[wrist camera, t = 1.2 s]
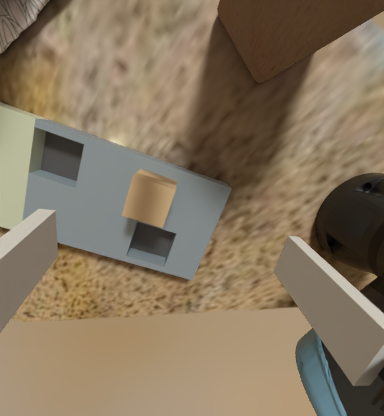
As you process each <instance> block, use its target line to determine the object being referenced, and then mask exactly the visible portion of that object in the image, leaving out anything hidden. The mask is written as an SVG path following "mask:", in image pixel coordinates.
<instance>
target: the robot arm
mask: <svg viewBox="0 0 384 416" xmlns="http://www.w3.org/2000/svg"><path fill="white" fill-rule="evenodd" d="M316 235H317V239H318V241H319V243H320V245H321V246H322V248H323V249H324V250H325V251H326V252H328V253H329V254H330V255H331V256H332V257H334V258H335V259H336V260H338V261H340V262H342V263H344V264H347V265H350V266H353V267H355V268H358V269H361V270H364V271H366V272H369V273H372V274H375V275H376V276H377V278H376V279H375V280H374V281H372V282H371V283H370V284H368V285H367V286H365V287H364V288H363V289H361V290H360V291H358V290H357V289H356V288H355V287H354V286H353V285H351V284H350V283H349V282H348V281H347V280H346V279H345V278H344V277H343V276H342V275H340V274H339V273H338V272H337V271H336V270H335V269H334V268H333V267H332V266H331V265H329V264H328V263H327V262H326V261H325V260H324V259H323V258H322V257H321V256H320V255H318V254H317V253H316V252H315V251H314V250H313V249H312V248H311V247H310V246H308V245H307V244H306V243H305V242H304V241H303V240H302V239H301V238H300V237H294V236H288V237H287V240H286V242H285V245H284V248H283V250H282V253H281V255H280V258H279V260H278V263H277V265H276V268H275V270H274V273H275V274H276V276H277V277H278V279H279V280H280V282H281V283H282V284H283V286H284V287H285V289H286V290H287V292H288V293H289V294H290V296H291V297H292V299H293V300H294V302H295V303H296V305H297V306H298V307H299V309H300V310H301V312H302V313H303V314H304V316H305V317H306V319H307V320H308V322H309V323H310V324H311V326H312V327H313V328H312V329H311V330H310V331H309V332H308V333H307V334H305V335H304V336H303V337H302V338H301V339H300V340H299V342H298V343H297V346H296V363H297V367H298V371H299V374H300V378H301V381H302V383H303V386H304V388H305V391H306V393H307V395H308V398H309V400H310V402H311V404H312V406H313V408H314V410H315V412H316V414H317V416H384V174H382V173H367V174H362V175H359V176H356V177H353V178H351V179H349V180H347V181H346V182H344V183H342V184H341V185H340V186H338V187H337V188H336V189H335V190H334V191H333V192H332V193H331V194H330V195H329V196H328V197H327V198H326V200H325V201H324V203H323V204H322V206H321V208H320V210H319V213H318V216H317V220H316ZM57 256H58V245H57V226H56V210H47V209H38V210H37V211H35V212H34V213H33V214H31V215H30V216H29V217H27V218H26V219H25V220H23V221H22V222H21V223H19V224H18V225H17V226H15V227H14V228H13V229H11V230H10V231H9V232H7V233H6V234H5V235H3V236H2V237H1V238H0V332H1V331H2V330H3V328H4V327H5V326H6V324H7V323H8V322H9V320H10V319H11V318H12V316H13V315H14V314H15V312H16V311H17V310H18V308H19V307H20V306H21V304H22V303H23V302H24V300H25V299H26V298H27V296H28V295H29V294H30V292H31V291H32V290H33V288H34V287H35V286H36V284H37V283H38V282H39V280H40V279H41V278H42V276H43V275H44V274H45V272H46V271H47V270H48V268H49V267H50V266H51V264H52V263H53V262H54V260H55V259H56V258H57Z"/></svg>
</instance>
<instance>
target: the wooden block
mask: <svg viewBox="0 0 384 416" xmlns="http://www.w3.org/2000/svg"><path fill="white" fill-rule="evenodd" d="M383 11H384V0H220V2H219V5H218V15H219V18H220V20H221V22H222V24H223V25H224V27H225V29H226V31H227V32H228V34H229V36H230V38H231V40H232V41H233V43H234V45H235V47H236V49H237V50H238V52H239V54H240V56H241V57H242V59H243V61H244V63H245V65H246V66H247V68H248V70H249V72H250V73H251V75H252V77H253V79H254V80H255V81H256V82H257V83H263V82H266V81H267V80H269V79H271V78H272V77H274V76H276V75H277V74H279V73H281V72H282V71H284V70H286V69H287V68H289V67H291V66H292V65H294V64H296V63H297V62H299V61H301V60H302V59H304V58H306V57H307V56H309V55H311V54H312V53H314V52H316V51H317V50H319V49H321V48H322V47H324V46H326V45H327V44H329V43H331V42H332V41H334V40H336V39H338V38H339V37H341V36H343V35H344V34H346V33H348V32H349V31H351V30H353V29H354V28H356V27H358V26H359V25H361V24H363V23H364V22H366V21H368V20H369V19H371V18H373V17H374V16H376V15H378V14H379V13H381V12H383Z"/></svg>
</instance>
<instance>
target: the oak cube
mask: <svg viewBox="0 0 384 416" xmlns="http://www.w3.org/2000/svg"><path fill="white" fill-rule="evenodd" d="M176 186H177V181H176V180H173V179H170V178H168V177H165V176H162V175H159V174H156V173H153V172H150V171H147V170H145V169H142V168H141V169H140V170H139V171H137V172H136V173H135V174H134V175H133V177H132V180H131V184H130V188H129V191H128V195H127V198H126V202H125V205H124V209H123V212H122V216H125V217H128V218H131V219H135V220H138V221H141V222H144V223H147V224H151V225H154V226H157V227H160V228H163V226H164V223H165V220H166V217H167V214H168V211H169V209H170V206H171V203H172V200H173V197H174V194H175V192H176Z"/></svg>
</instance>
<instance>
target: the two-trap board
mask: <svg viewBox="0 0 384 416" xmlns="http://www.w3.org/2000/svg"><path fill="white" fill-rule="evenodd" d="M141 168H142V169H145V170H147V171H150V172H153V173H156V174H159V175H162V176H165V177H168V178H170V179H173V180H176V181H177V186H176V192H175V194H174V197H173V200H172V203H171V206H170V209H169V211H168V214H167V217H166V220H165V223H164V226H163V228H160V227H157V226H154V225H151V224H147V223H144V222H141V221H138V220H135V219H131V218H128V217H125V216H122V212H123V209H124V205H125V202H126V198H127V195H128V191H129V188H130V184H131V180H132V177H133V175H134V174H135V173H136V172H137V171H139V170H140V169H141ZM231 190H232V188H231V187H230V186H229V185H228V184H227V183H224V182H222V181H219V180H216V179H213V178H210V177H208V176H205V175H202V174H199V173H196V172H194V171H191V170H188V169H185V168H183V167H180V166H177V165H174V164H171V163H169V162H166V161H163V160H160V159H158V158H155V157H152V156H149V155H146V154H144V153H141V152H138V151H135V150H132V149H130V148H127V147H124V146H121V145H119V144H116V143H113V142H110V141H107V140H105V139H102V138H99V137H96V136H93V135H91V134H88V133H85V132H82V131H80V130H77V129H74V128H71V127H68V126H66V125H63V124H60V123H57V122H55V121H52V120H49V119H46V118H43V117H41V116H38V115H35V114H32V113H29V112H27V111H24V110H21V109H18V108H16V107H13V106H10V105H7V104H4V103H2V102H0V227H3V228H7V229H13V228H14V227H15V226H17V225H18V224H19V223H21V222H22V221H23V220H25V219H26V218H27V217H29V216H30V215H31V214H33V213H34V212H35V211H37V210H38V209H47V210H56V226H57V243H61V244H64V245H68V246H71V247H75V248H78V249H82V250H86V251H89V252H93V253H96V254H100V255H103V256H107V257H111V258H114V259H118V260H121V261H125V262H128V263H132V264H136V265H139V266H143V267H146V268H150V269H153V270H157V271H161V272H164V273H168V274H171V275H175V276H178V277H182V278H186V279H189V280H193V277H194V275H195V273H196V271H197V268H198V266H199V264H200V261H201V259H202V257H203V254H204V252H205V250H206V248H207V245H208V243H209V241H210V238H211V236H212V234H213V231H214V229H215V227H216V224H217V222H218V220H219V218H220V215H221V213H222V211H223V208H224V206H225V204H226V201H227V199H228V197H229V195H230V192H231Z"/></svg>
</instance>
